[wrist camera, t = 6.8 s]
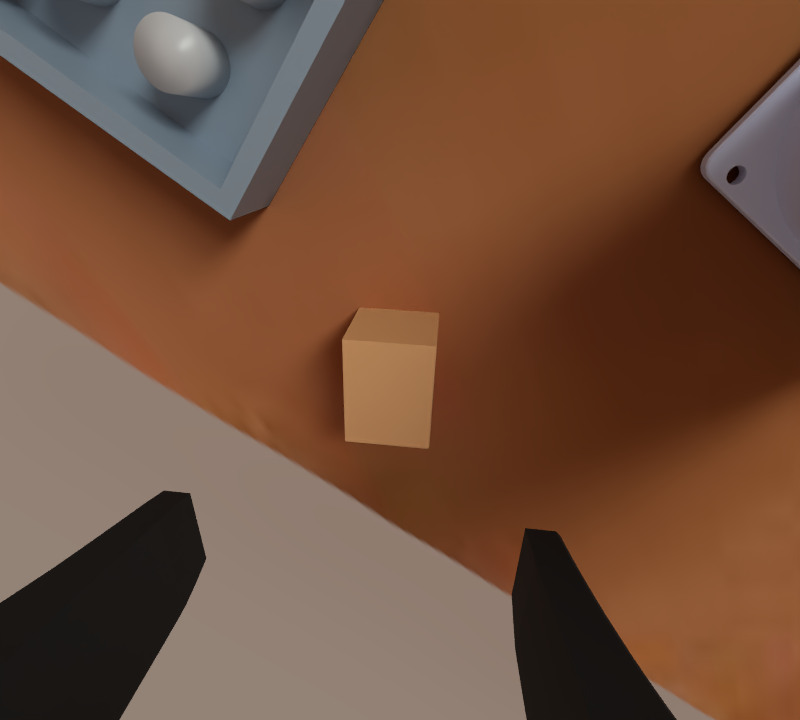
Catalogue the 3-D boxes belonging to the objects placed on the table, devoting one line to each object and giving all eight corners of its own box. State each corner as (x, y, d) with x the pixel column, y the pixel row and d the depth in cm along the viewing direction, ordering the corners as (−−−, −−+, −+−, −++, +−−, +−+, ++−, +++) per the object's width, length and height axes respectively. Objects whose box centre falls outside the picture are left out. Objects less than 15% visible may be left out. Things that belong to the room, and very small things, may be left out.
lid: (577, 256, 16) (609, 288, 13) (537, 447, 20) (553, 508, 16) (238, 237, 17) (187, 262, 14) (262, 423, 21) (227, 475, 17)
